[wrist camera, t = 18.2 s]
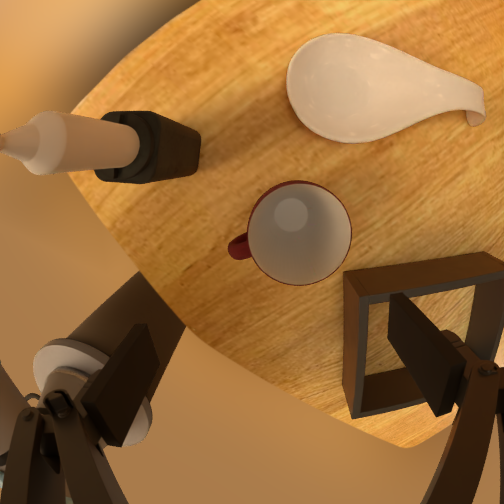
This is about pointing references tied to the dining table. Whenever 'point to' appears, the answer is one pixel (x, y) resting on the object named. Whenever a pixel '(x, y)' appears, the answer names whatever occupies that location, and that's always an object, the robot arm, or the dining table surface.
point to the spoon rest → (371, 89)
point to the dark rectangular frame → (412, 285)
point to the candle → (106, 146)
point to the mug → (296, 233)
